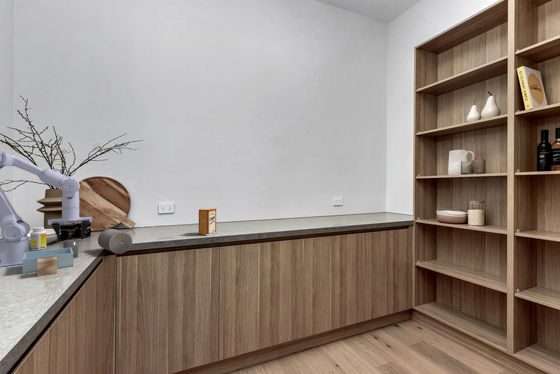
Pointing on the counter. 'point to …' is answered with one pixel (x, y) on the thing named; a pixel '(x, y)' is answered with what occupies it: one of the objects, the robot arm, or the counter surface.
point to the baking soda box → (207, 220)
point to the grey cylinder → (72, 246)
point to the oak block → (46, 266)
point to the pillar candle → (115, 241)
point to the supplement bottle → (38, 239)
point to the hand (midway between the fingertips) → (70, 240)
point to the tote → (32, 257)
